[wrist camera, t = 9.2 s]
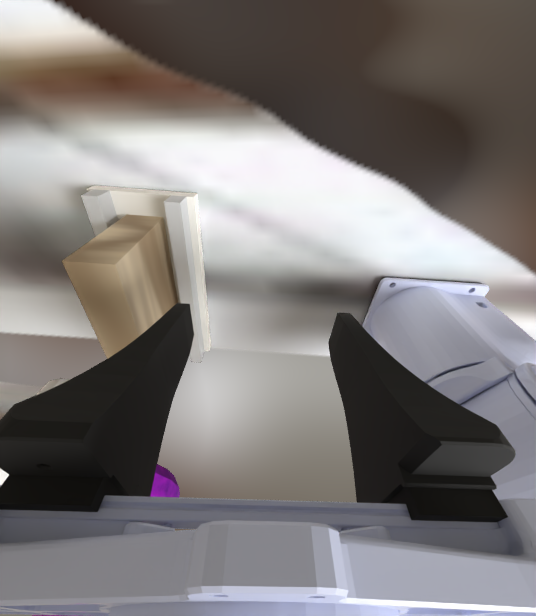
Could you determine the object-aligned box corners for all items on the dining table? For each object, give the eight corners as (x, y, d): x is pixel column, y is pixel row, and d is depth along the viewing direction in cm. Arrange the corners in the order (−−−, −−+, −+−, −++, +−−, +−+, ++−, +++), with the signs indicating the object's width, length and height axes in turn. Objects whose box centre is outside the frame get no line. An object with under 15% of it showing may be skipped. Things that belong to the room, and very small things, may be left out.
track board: (197, 193, 18) (188, 203, 16) (211, 344, 27) (206, 362, 25) (94, 185, 17) (72, 194, 15) (143, 340, 27) (133, 359, 25)
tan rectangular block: (163, 217, 18) (115, 264, 12) (185, 339, 25) (161, 404, 19) (126, 214, 18) (61, 260, 12) (159, 338, 25) (127, 402, 19)
